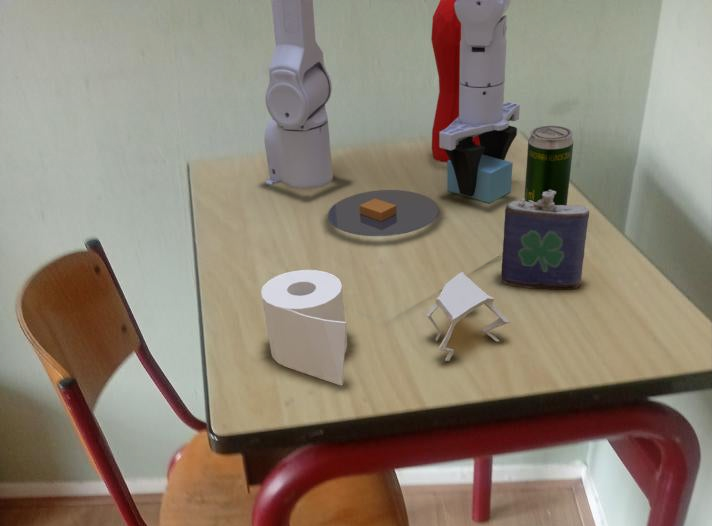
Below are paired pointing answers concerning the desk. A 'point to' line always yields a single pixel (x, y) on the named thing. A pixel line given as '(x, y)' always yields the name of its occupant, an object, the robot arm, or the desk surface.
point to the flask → (544, 243)
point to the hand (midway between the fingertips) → (478, 188)
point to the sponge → (486, 179)
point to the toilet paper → (307, 323)
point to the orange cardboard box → (378, 209)
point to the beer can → (549, 163)
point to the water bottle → (446, 71)
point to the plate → (409, 217)
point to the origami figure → (463, 306)
